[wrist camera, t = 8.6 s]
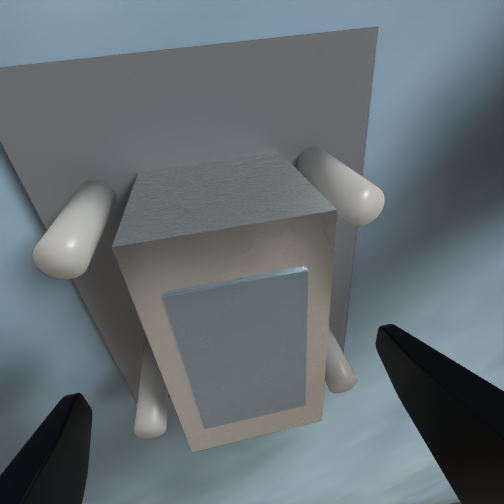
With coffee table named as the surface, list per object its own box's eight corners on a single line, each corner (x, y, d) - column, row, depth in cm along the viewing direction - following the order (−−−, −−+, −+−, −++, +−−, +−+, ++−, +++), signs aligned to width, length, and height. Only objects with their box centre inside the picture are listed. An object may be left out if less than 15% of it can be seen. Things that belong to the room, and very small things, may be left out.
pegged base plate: (362, 28, 11) (479, 14, 6) (336, 344, 19) (378, 423, 15) (-17, 69, 9) (-176, 84, 5) (139, 388, 18) (127, 487, 14)
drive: (280, 151, 11) (338, 211, 7) (285, 326, 16) (322, 423, 12) (138, 171, 11) (110, 249, 6) (189, 346, 16) (192, 455, 11)
